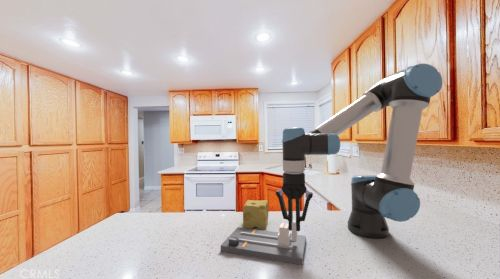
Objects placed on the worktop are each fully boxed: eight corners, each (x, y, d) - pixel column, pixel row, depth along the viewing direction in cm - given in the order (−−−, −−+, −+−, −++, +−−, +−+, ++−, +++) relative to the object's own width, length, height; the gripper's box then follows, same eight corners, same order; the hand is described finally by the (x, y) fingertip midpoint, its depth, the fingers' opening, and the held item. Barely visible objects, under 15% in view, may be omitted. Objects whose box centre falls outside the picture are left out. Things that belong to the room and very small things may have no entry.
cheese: (266, 230, 91) (265, 206, 91) (241, 228, 93) (241, 205, 93) (268, 220, 101) (268, 199, 101) (246, 219, 104) (246, 199, 104)
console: (305, 241, 81) (305, 231, 81) (302, 265, 65) (302, 253, 65) (237, 231, 89) (237, 223, 89) (220, 251, 74) (220, 240, 74)
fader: (290, 240, 76) (290, 223, 76) (289, 245, 73) (289, 227, 73) (279, 239, 78) (279, 222, 78) (277, 244, 74) (277, 226, 74)
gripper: (313, 171, 75) (314, 237, 75) (277, 169, 79) (278, 232, 80) (312, 174, 68) (313, 247, 68) (273, 173, 72) (273, 241, 72)
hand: (294, 239), depth 74 cm, fingers closed
